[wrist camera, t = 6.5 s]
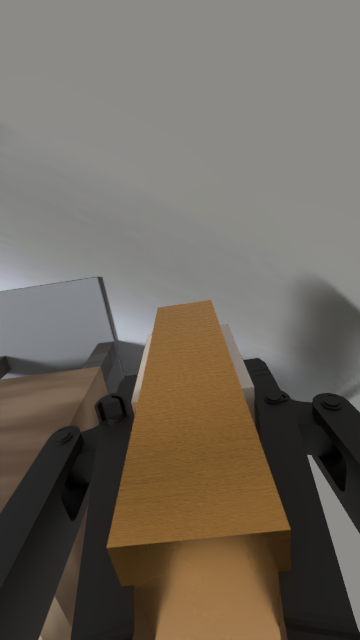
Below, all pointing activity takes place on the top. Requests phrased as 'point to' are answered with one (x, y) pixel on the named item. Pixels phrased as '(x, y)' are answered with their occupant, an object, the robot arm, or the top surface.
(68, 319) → the mat
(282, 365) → the top surface
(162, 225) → the top surface
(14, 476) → the cabinet
